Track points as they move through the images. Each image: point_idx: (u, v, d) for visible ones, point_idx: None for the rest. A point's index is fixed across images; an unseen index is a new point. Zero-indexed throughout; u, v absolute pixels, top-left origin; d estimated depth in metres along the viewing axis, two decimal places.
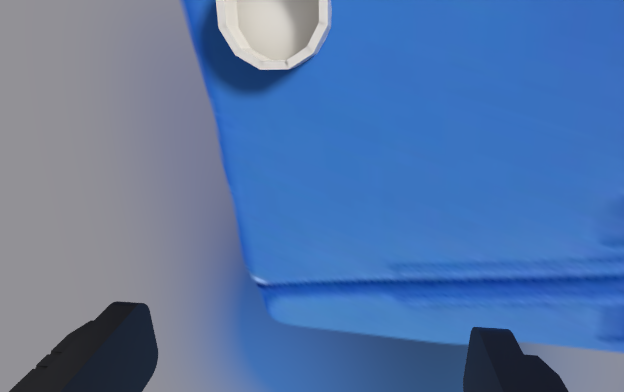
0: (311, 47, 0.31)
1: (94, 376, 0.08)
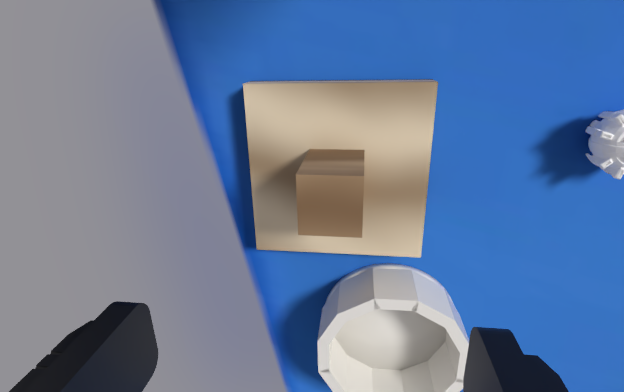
0: None
1: (94, 375, 0.08)
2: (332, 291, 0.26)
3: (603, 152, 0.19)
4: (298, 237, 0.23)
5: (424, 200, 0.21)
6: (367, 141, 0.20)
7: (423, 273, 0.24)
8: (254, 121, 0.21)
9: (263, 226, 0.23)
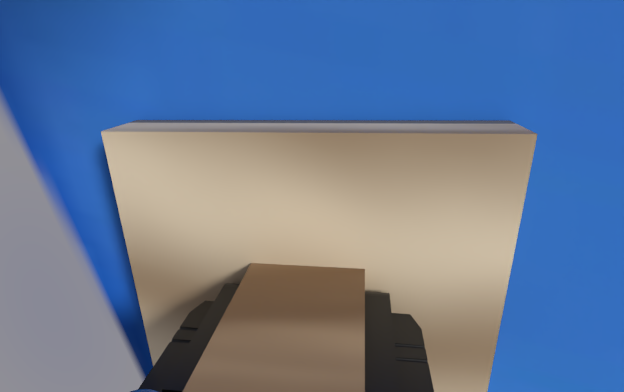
0: None
1: None
2: None
3: None
4: None
5: (488, 366, 0.10)
6: (370, 253, 0.10)
7: None
8: (134, 207, 0.10)
9: None
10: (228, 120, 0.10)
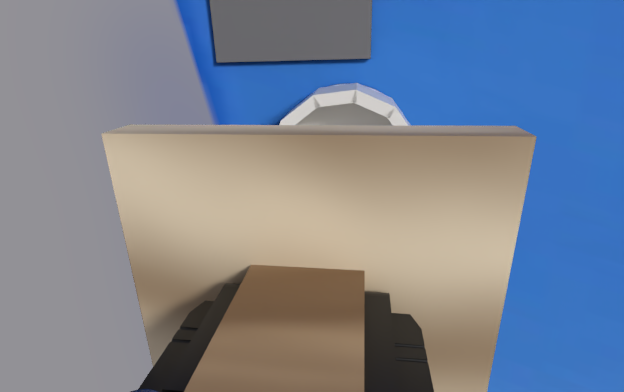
0: None
1: None
2: None
3: None
4: None
5: (487, 367, 0.10)
6: (370, 255, 0.10)
7: (371, 88, 0.24)
8: (134, 209, 0.10)
9: None
10: None
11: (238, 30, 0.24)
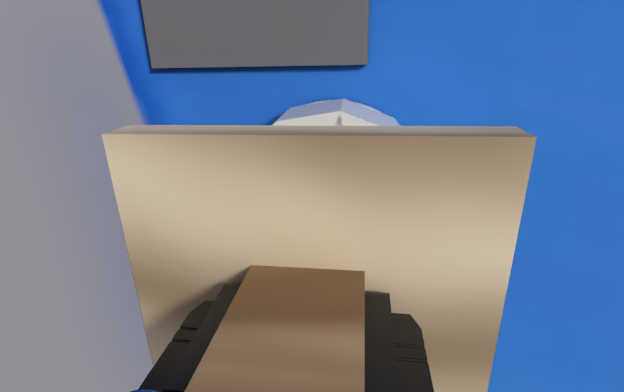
0: None
1: None
2: None
3: None
4: None
5: (487, 368, 0.10)
6: (370, 255, 0.10)
7: (364, 105, 0.17)
8: (135, 209, 0.10)
9: None
10: None
11: (179, 23, 0.17)
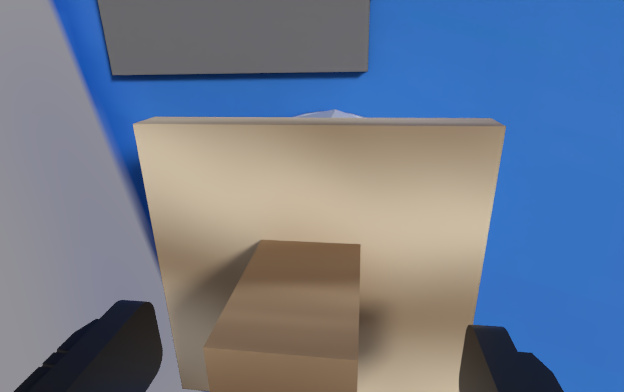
0: None
1: (100, 373, 0.08)
2: None
3: None
4: None
5: None
6: (365, 230, 0.11)
7: (360, 116, 0.15)
8: (160, 190, 0.11)
9: (189, 356, 0.14)
10: None
11: (143, 21, 0.14)
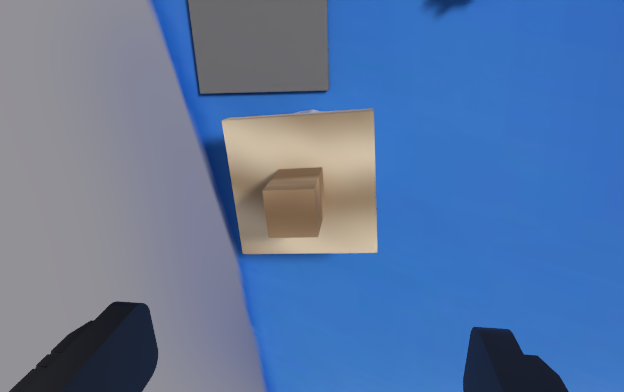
0: None
1: (93, 375, 0.08)
2: None
3: None
4: (276, 241, 0.28)
5: (374, 205, 0.26)
6: (323, 160, 0.25)
7: None
8: (233, 149, 0.26)
9: (246, 234, 0.28)
10: None
11: (218, 67, 0.29)
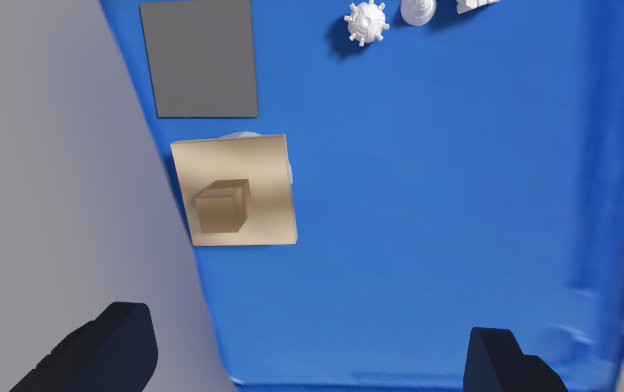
0: None
1: (94, 376, 0.08)
2: None
3: (350, 30, 0.30)
4: (218, 236, 0.36)
5: (289, 207, 0.34)
6: (248, 173, 0.33)
7: (257, 133, 0.37)
8: (180, 165, 0.34)
9: (195, 230, 0.36)
10: (170, 2, 0.33)
11: (171, 97, 0.36)
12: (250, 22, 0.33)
